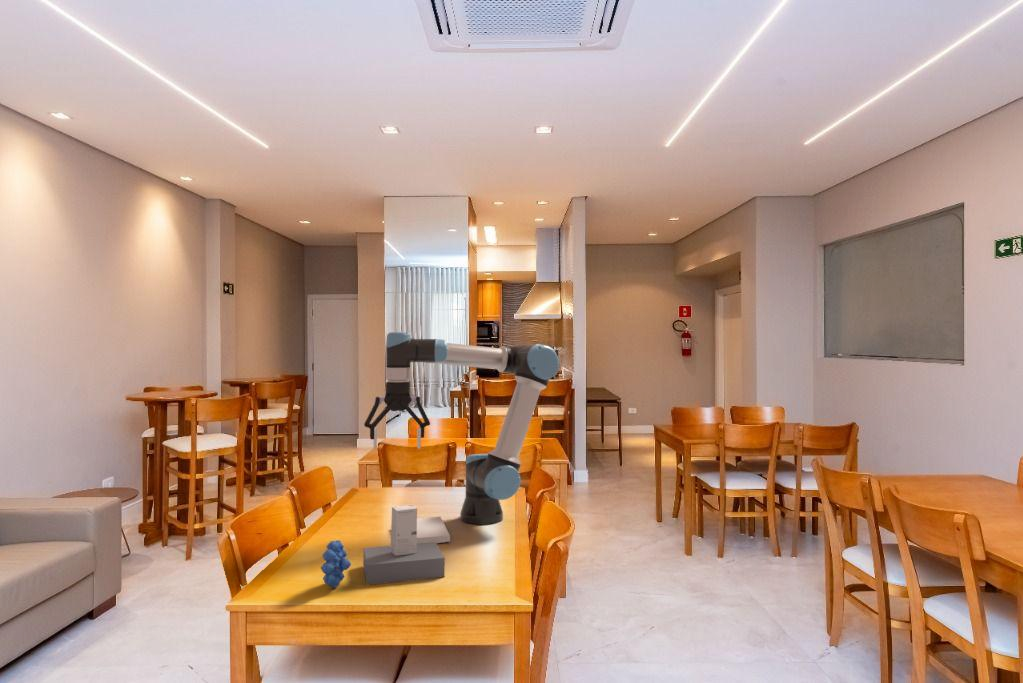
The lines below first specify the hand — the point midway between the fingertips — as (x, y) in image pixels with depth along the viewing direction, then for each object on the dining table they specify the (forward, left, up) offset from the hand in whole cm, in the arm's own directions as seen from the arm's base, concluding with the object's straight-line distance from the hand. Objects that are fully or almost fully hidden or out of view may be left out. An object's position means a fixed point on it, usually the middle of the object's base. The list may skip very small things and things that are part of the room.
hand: (397, 449), depth 190 cm
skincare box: (+1, +27, -24) cm, 36 cm away
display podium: (+1, +27, -29) cm, 39 cm away
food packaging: (-9, -4, -29) cm, 31 cm away
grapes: (+18, +34, -29) cm, 48 cm away
